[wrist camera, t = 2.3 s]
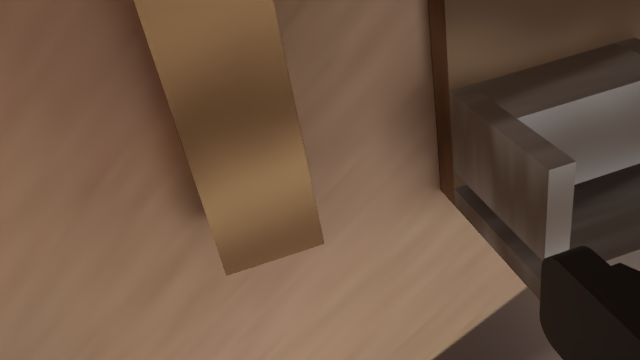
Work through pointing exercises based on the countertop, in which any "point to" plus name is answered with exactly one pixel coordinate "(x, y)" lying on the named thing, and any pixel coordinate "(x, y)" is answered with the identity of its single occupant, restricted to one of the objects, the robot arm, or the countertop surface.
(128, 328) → the countertop surface
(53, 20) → the countertop surface
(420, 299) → the countertop surface
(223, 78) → the rail
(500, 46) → the bracket board
